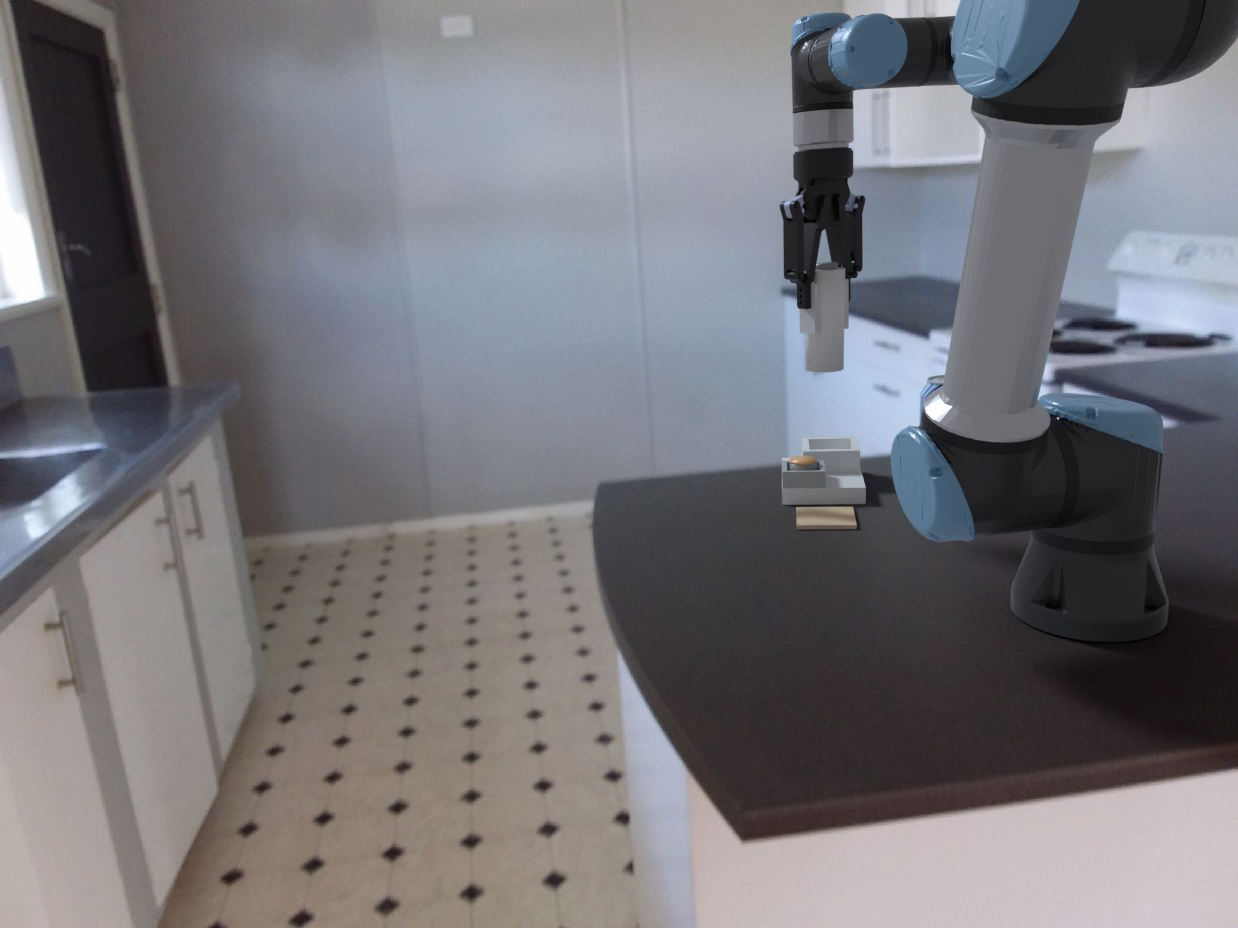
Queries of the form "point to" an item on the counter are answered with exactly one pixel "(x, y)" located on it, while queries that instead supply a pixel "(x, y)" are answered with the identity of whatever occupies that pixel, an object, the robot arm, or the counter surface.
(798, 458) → the tan dome
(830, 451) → the housing
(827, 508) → the coaster
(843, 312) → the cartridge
